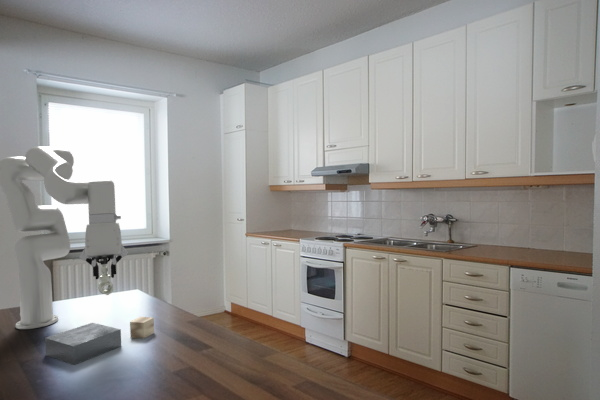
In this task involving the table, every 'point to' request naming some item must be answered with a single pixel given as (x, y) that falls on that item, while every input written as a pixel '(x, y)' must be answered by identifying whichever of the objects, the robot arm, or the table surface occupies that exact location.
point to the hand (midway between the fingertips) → (105, 277)
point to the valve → (104, 275)
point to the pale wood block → (142, 327)
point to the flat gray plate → (82, 343)
